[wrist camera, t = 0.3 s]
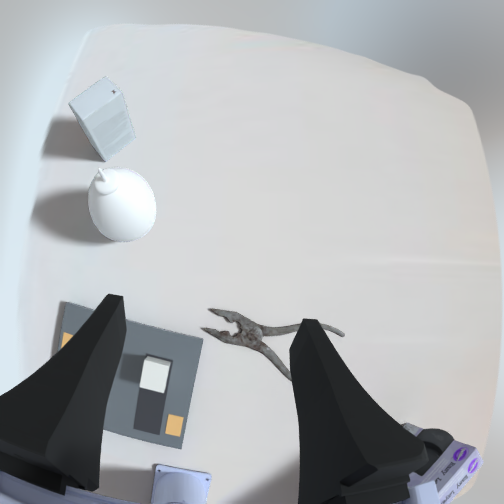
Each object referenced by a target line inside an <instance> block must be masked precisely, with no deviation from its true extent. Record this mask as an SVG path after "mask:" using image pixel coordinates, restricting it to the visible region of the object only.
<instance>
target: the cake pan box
mask: <svg viewBox="0 0 504 504" xmlns="http://www.w3.org/2000/svg"><path fill="white" fill-rule="evenodd" d="M403 427H404V428H405V429H406V430H408V431H409V432H410V433H412V434H413V435H415V436H416V437H418V438H419V439H421V440H422V441H423V442H424V444H425V448H426V451H427V454H428V458H429V461H428V462H427V463H426V464H425V465H424V466H422V467H421V468H419V469H418V470H416V471H414V472H412V473H411V474H409V477H410V482H408V483H407V486H408V488H410V487H412V486H415V485H419V484H422V483H425V482H428V481H431V480H434V481H435V484H436V488H437V492H438V496H439V500H440V504H450V503H451V501H452V500H453V498H454V497H455V496H456V495H457V494H458V492H459V491H460V490H461V489H462V488H463V487H464V486H465V484H466V483H467V482H468V481H469V480H470V479H471V477H472V476H473V475H474V474H475V473H476V471H477V470H478V469H479V468H480V467H481V465H482V464H483V460H482V458H481V456H480V454H479V452H478V451H477V449H476V447H473V446H470V445H467V444H464V443H461V442H458V441H455V440H454V438H453V437H452V436H451V435H450V434H449V433H448V432H446V431H444V430H441V429H422V428H419V427H417V426H415V425H412V424H410V423H406V424H405V425H404V426H403Z"/></svg>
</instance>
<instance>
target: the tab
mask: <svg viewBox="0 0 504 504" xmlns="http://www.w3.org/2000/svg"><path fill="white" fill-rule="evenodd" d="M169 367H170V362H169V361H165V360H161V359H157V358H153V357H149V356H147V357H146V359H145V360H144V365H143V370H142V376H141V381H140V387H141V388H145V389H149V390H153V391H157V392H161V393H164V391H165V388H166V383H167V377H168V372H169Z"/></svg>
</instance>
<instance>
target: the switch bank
mask: <svg viewBox="0 0 504 504" xmlns="http://www.w3.org/2000/svg"><path fill="white" fill-rule="evenodd" d="M94 311H95V310H93V309H90V308H86V307H83V306H80V305H77V304H74V303H71V302H66V306H65V311H64V316H63V322H62V327H61V333H60V339H59V346H58V351H59V350H60V349H61V348H62V347H63V346H64V345H65V344H66V343H67V342H68V341H69V340H70V339H71V338H72V337H73V335H74V334H75V333H76V332H77V331H78V330H79V329H80V328H81V326H82V325H83V324H84V323H85V322H86V321H87V319H88V318H89V317H90V316H91V314H92V313H93V312H94ZM126 327H127V332H126V337H125V342H124V347H123V352H122V355H121V358H120V362H119V365H118V368H117V371H116V375H115V378H114V381H113V384H112V388H111V391H110V395H109V398H108V402H107V407H106V413H105V420H104V426H103V429H104V430H107V431H110V432H113V433H117V434H120V435H124V436H127V437H131V438H135V439H138V440H142V441H146V442H150V443H155V444H159V445H163V446H168V447H173V448H177V449H181V448H182V443H183V438H184V433H185V427H186V422H187V417H188V412H189V407H190V402H191V397H192V392H193V387H194V382H195V377H196V372H197V368H198V363H199V358H200V353H201V348H202V344H203V338H199V337H194V336H190V335H186V334H181V333H177V332H173V331H169V330H165V329H161V328H157V327H153V326H149V325H146V324H142V323H138V322H134V321H131V320H127V319H126ZM147 356H149V357H153V358H157V359H161V360H165V361H169V362H170V367H169V372H168V377H167V383H166V388H165V391H164V393H161V392H157V391H153V390H149V389H145V388H141V387H140V381H141V376H142V370H143V365H144V360H145V359H146V357H147Z"/></svg>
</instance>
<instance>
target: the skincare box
mask: <svg viewBox="0 0 504 504" xmlns="http://www.w3.org/2000/svg"><path fill="white" fill-rule="evenodd" d="M69 106H70V108H71V110H72V111H73V113H74V115H75V117H76V118H77V120H78V122H79V124H80V125H81V127H82V129H83V131H84V132H85V134H86V136H87V138H88V139H89V141H90V143H91V145H92V146H93V147H94V148H95V150H96V151H97V152H98V154H99V155H100V156H101V158H102V159H103V160H104V161H105V162H106V161H108V160H109V159H110V158H111V157H112V156H114V155H115V154H116V153H117V152H119V151H120V150H121V149H122V148H124V147H125V146H126V145H128V144H129V143H130V142H132V141H133V140H134V139H136V136H135V132H134V129H133V126H132V122H131V119H130V115H129V112H128V109H127V105H126V102H125V98H124V94H123V92H122V91H121V90H120V89H119V88H118V87H117V86H116V85H115V84H114V83H113V82H112V81H111V80H110V79H109V78H108V77H107V76H105V77H103V78H102V79H101V80H99V81H98V82H96V83H95V84H94V85H92V86H91V87H89V88H88V89H87V90H85V91H84V92H82V93H81V94H80V95H78V96H77V97H76V98H74V99H73V100H72V101H71V102H69Z"/></svg>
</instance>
